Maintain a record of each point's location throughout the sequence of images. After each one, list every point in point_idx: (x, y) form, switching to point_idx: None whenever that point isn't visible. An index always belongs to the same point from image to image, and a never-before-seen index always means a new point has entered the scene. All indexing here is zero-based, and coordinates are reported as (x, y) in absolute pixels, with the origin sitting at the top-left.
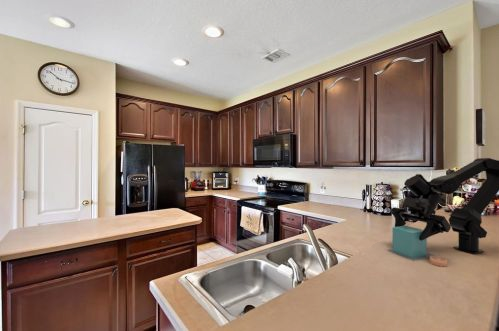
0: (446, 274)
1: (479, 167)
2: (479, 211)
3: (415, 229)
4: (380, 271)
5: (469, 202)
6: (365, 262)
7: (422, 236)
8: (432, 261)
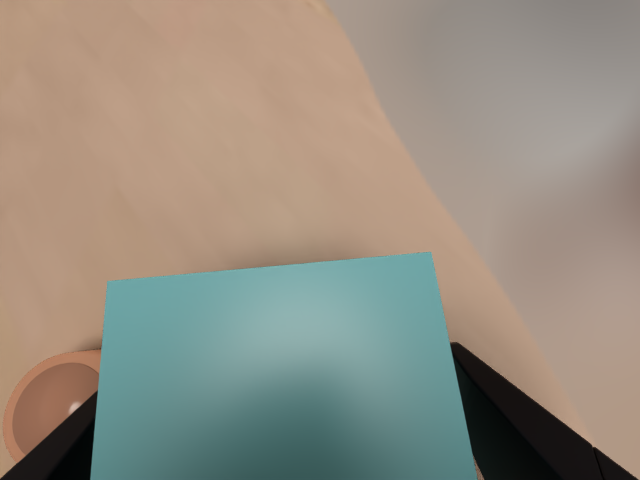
0: (13, 313)
1: None
2: None
3: None
4: (188, 44)
5: None
6: (287, 53)
7: (67, 423)
8: (95, 351)
